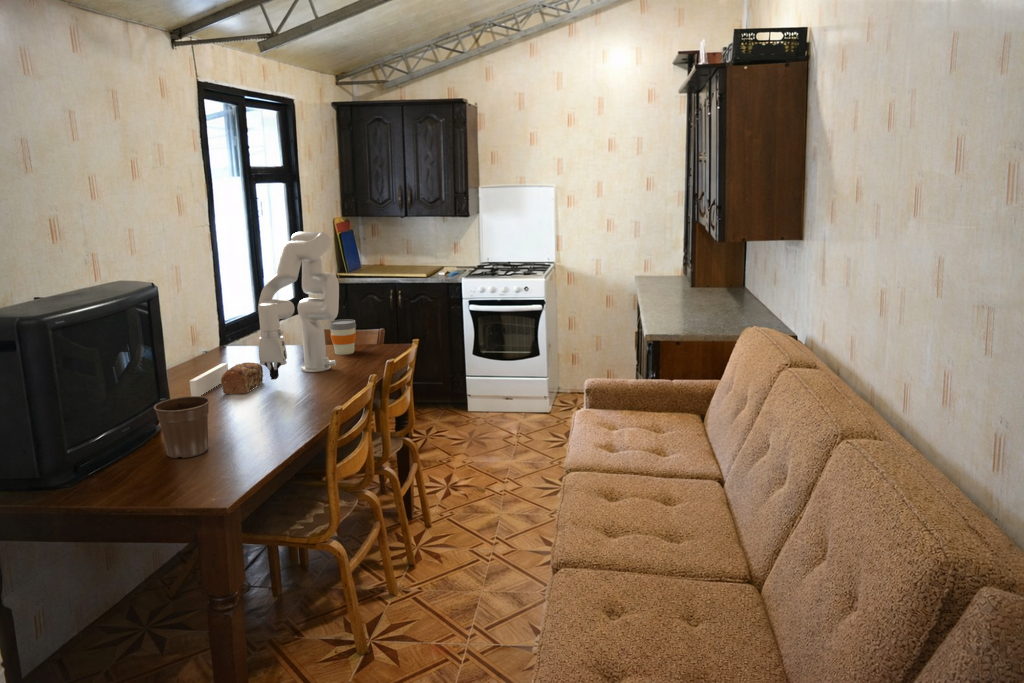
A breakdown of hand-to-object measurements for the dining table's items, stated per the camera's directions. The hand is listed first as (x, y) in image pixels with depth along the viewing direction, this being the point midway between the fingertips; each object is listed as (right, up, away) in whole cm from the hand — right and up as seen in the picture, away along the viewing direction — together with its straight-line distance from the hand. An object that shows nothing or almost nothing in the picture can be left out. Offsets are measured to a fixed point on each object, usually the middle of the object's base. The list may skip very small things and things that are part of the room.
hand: (274, 378), depth 326 cm
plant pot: (-7, -20, -71) cm, 74 cm away
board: (-27, -4, +4) cm, 28 cm away
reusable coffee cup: (+15, +9, +62) cm, 65 cm away
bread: (-13, -4, +3) cm, 14 cm away
